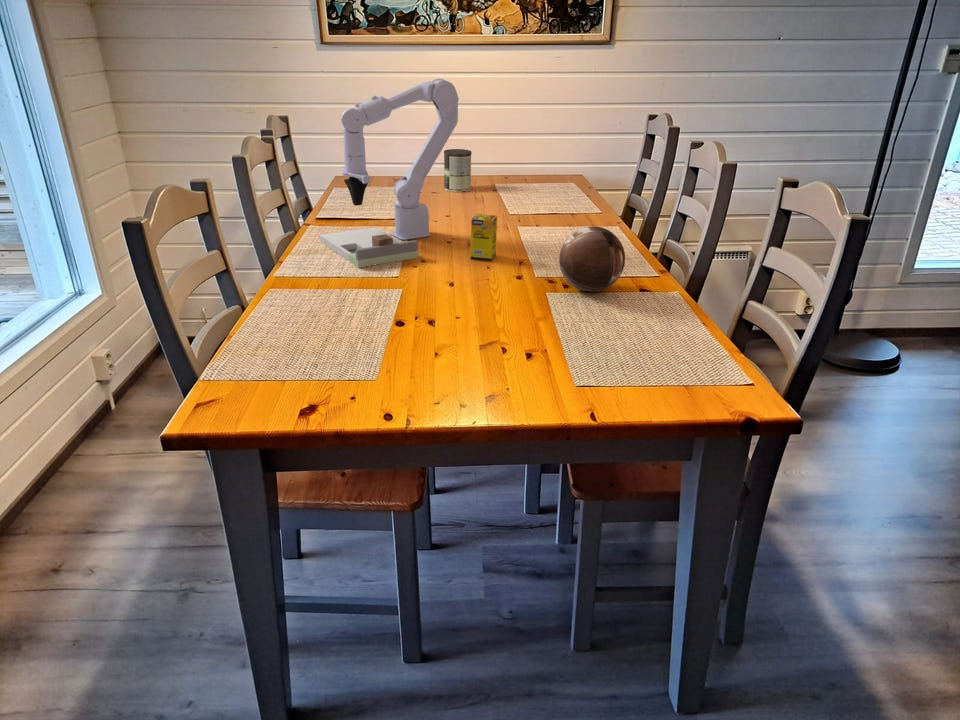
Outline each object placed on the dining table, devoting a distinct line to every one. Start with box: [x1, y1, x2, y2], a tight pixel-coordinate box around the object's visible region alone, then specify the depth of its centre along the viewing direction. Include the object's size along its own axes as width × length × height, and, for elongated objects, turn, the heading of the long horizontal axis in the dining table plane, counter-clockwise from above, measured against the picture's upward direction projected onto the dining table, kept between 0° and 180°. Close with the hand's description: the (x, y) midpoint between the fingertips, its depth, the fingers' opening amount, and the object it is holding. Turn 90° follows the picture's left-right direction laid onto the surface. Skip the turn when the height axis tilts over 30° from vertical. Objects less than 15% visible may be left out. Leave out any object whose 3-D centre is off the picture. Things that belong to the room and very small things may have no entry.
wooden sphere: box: [558, 226, 626, 292], centre depth 152 cm, size 15×15×15 cm
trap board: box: [319, 227, 419, 269], centre depth 178 cm, size 17×26×4 cm, turn 33°
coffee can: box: [443, 148, 473, 193], centre depth 247 cm, size 10×10×14 cm
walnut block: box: [372, 233, 393, 247], centre depth 170 cm, size 4×4×4 cm
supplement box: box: [470, 213, 498, 262], centre depth 173 cm, size 6×6×11 cm
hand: (357, 204), depth 185 cm, fingers closed
